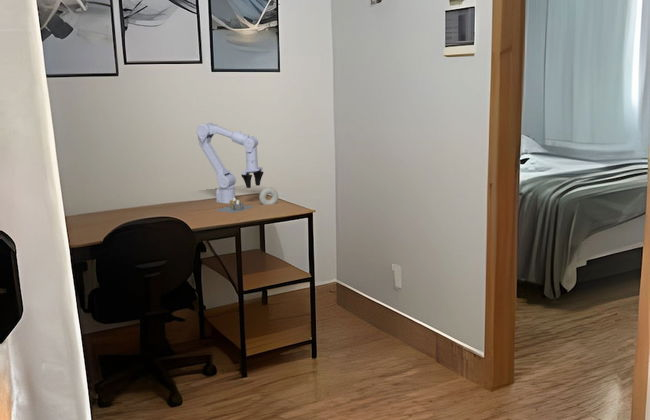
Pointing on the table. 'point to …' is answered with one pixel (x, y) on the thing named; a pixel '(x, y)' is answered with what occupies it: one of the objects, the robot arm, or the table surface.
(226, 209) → the gear board
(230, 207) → the brass gear
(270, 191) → the donut
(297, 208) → the table surface
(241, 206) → the fixed gear
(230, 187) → the robot arm
